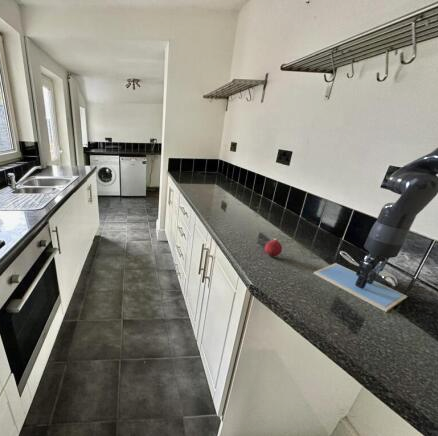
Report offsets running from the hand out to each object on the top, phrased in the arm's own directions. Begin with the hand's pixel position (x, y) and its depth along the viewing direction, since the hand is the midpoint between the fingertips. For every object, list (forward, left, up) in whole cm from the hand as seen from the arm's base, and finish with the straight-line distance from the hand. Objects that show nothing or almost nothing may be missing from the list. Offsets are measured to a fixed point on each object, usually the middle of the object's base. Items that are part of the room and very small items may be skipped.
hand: (363, 284), depth 75 cm
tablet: (0, -1, -1) cm, 2 cm away
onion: (+11, -25, -2) cm, 28 cm away
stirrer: (-14, -5, -2) cm, 15 cm away
